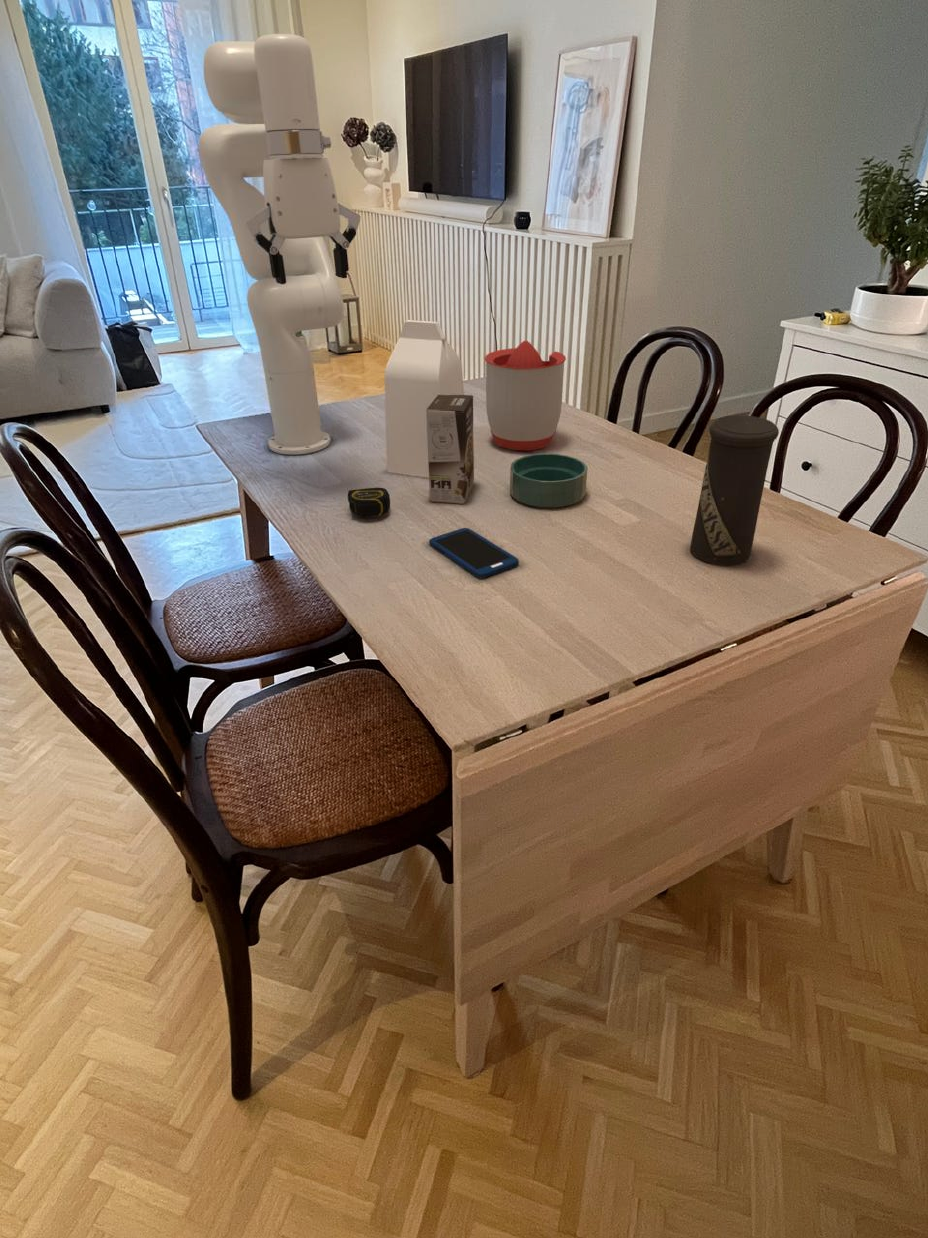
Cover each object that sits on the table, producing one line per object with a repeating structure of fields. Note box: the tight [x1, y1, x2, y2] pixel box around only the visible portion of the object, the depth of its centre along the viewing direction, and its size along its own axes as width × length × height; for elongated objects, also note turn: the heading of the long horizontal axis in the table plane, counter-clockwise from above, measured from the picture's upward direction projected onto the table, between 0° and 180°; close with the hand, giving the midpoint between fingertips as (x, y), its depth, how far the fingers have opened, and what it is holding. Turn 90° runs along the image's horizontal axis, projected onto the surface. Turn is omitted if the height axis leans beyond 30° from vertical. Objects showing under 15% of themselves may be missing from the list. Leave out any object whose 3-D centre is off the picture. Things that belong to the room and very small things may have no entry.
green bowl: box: [509, 453, 588, 508], centre depth 125 cm, size 13×13×5 cm
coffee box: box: [426, 394, 475, 505], centre depth 124 cm, size 9×6×16 cm
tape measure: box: [347, 487, 391, 519], centre depth 120 cm, size 7×7×4 cm
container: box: [689, 414, 780, 566], centre depth 102 cm, size 9×9×20 cm
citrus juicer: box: [484, 340, 567, 452], centre depth 144 cm, size 16×17×20 cm
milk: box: [384, 319, 465, 479], centre depth 132 cm, size 12×12×26 cm
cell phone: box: [428, 527, 520, 579], centre depth 108 cm, size 7×14×1 cm, turn 35°
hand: (312, 280), depth 111 cm, fingers open, 9 cm apart
